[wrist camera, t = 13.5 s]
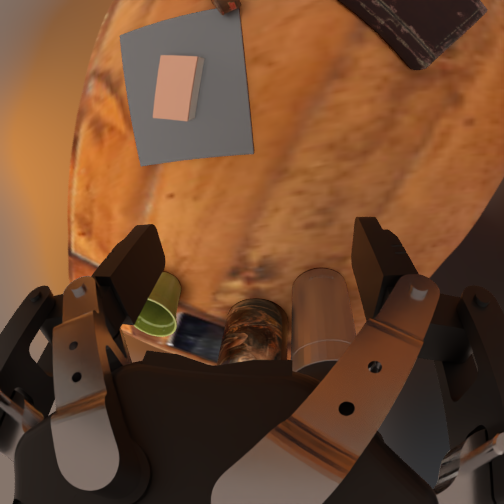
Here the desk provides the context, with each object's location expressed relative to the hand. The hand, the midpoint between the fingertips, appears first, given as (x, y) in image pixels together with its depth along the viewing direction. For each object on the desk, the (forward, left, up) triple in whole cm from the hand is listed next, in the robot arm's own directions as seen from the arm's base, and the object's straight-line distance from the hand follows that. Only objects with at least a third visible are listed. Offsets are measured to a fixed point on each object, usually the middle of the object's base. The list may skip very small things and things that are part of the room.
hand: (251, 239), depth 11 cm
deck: (+7, +11, -25) cm, 28 cm away
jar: (-34, +5, -26) cm, 43 cm away
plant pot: (-25, +21, -26) cm, 42 cm away
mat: (+7, +11, -26) cm, 29 cm away
